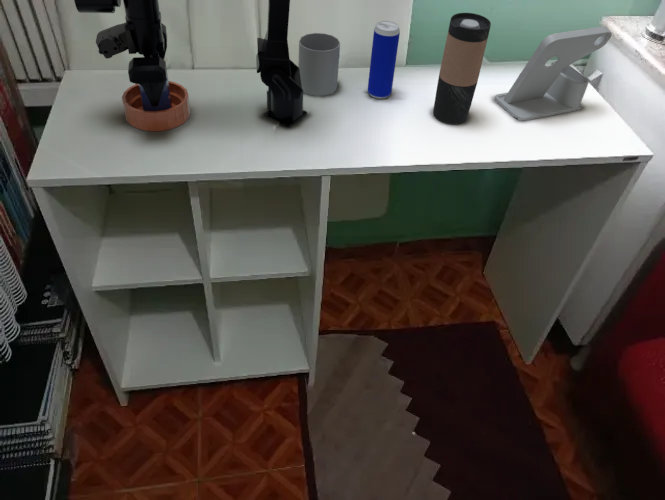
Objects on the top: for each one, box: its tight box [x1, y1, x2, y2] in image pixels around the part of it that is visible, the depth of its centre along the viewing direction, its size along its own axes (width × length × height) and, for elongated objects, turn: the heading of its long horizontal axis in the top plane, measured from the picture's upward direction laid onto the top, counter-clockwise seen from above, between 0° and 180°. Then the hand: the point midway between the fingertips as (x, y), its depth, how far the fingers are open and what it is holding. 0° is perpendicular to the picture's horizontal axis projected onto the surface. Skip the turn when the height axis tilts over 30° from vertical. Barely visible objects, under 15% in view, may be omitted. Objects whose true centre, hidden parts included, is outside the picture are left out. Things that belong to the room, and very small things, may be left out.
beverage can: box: [367, 20, 401, 100], centre depth 127 cm, size 5×5×15 cm
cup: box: [297, 32, 341, 97], centre depth 129 cm, size 8×8×10 cm
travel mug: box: [432, 12, 492, 125], centre depth 120 cm, size 8×8×20 cm
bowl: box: [121, 80, 191, 132], centre depth 119 cm, size 12×12×4 cm
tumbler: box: [138, 66, 172, 111], centre depth 116 cm, size 5×5×10 cm
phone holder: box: [494, 25, 613, 122], centre depth 127 cm, size 17×10×18 cm, turn 113°
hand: (155, 93), depth 117 cm, fingers open, 9 cm apart
